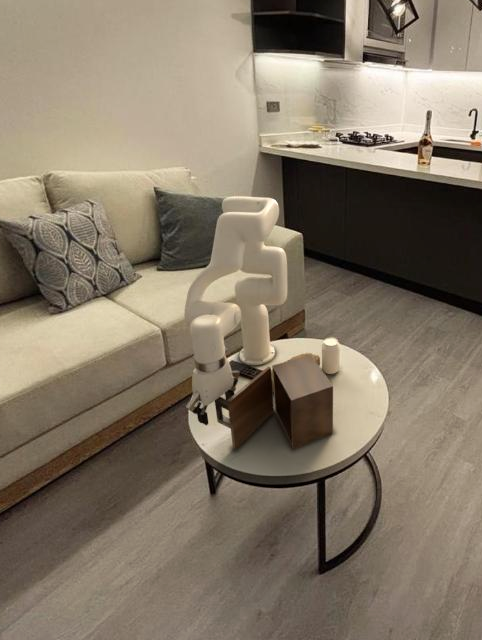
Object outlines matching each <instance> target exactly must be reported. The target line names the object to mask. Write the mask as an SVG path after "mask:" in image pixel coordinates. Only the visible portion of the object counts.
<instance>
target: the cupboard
mask: <svg viewBox="0 0 482 640" xmlns="http://www.w3.org/2000/svg"><path fill="white" fill-rule="evenodd" d="M289 360H290V359H289ZM286 361H287V360H286ZM272 369H273V385H274V392H273V402H274V412H275V414H276V416H277V418H278V420H279V422H280V424H281V426H282V429H283V431H284V433H285V435H286V436H287V439H288V441H289V443H290V445H291V447H292V450H294V449H296V448H299V447H301V446H304V445H307V444H308V443H309V444H310V443H311V442H313V441H316V440H319V439H321V438H324V437H327V436H329V435H331V434H333V433H334V385H333V384H332V382H331V381H330V380H329V378H328V377H327V375H326V373H325V372H324V371H323V370H322V367H321V366H319V365H318V364H317V363H316V361H315V360H314V358H313V357H312V356H311V355H307V356H304V357H300V358H297V359H293V360H290V361H287V362H285V361H284V362H280V363H276V364H273V365H272V367H271V370H272Z"/></svg>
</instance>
